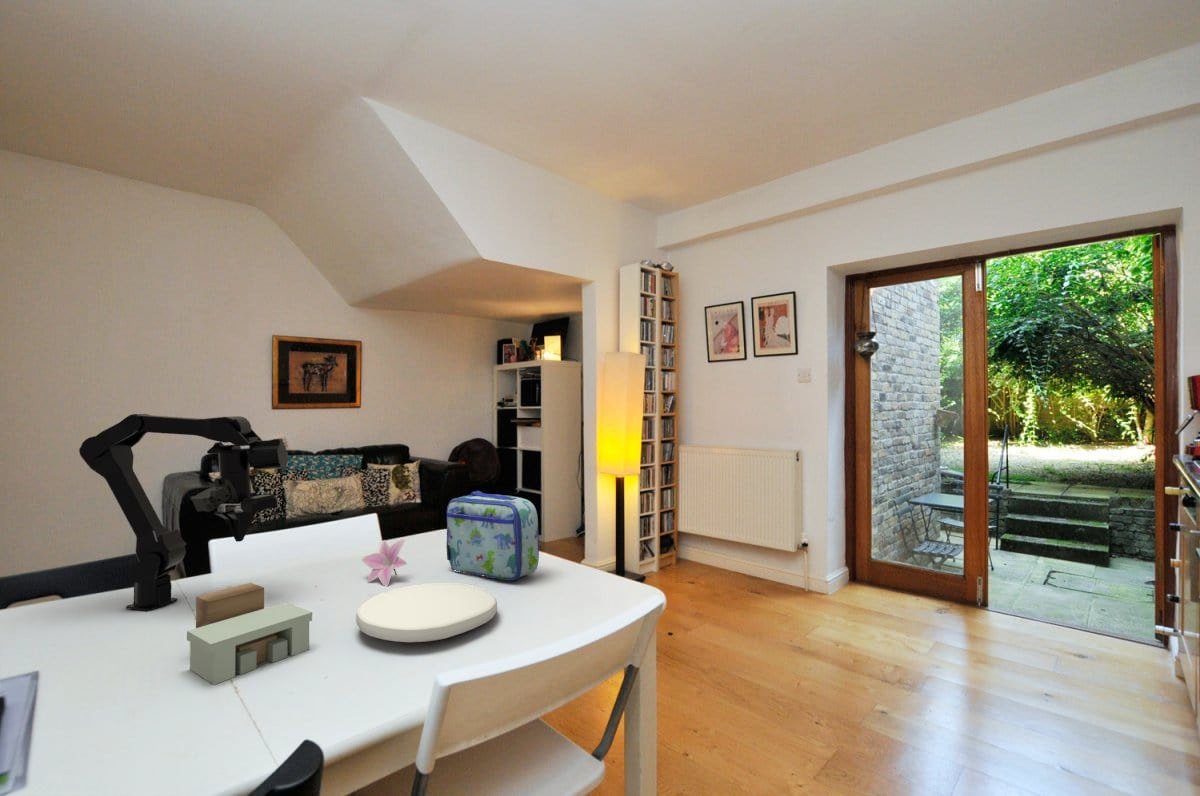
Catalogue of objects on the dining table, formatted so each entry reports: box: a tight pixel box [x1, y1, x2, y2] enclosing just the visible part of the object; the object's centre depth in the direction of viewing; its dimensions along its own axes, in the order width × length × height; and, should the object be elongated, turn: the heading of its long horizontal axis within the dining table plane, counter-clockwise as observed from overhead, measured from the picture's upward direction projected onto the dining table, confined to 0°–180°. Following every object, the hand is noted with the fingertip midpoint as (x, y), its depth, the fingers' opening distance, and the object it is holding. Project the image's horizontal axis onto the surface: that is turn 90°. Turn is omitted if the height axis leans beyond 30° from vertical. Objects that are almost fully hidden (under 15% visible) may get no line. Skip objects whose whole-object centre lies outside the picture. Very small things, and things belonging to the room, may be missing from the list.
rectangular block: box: [195, 582, 277, 664], centre depth 97 cm, size 13×9×10 cm
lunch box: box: [445, 490, 540, 582], centre depth 143 cm, size 26×11×21 cm, turn 58°
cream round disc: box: [355, 582, 498, 643], centre depth 111 cm, size 28×6×27 cm
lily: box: [361, 538, 408, 587], centre depth 138 cm, size 12×12×10 cm
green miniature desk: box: [186, 601, 313, 685], centre depth 95 cm, size 9×16×6 cm, turn 146°
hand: (239, 541), depth 123 cm, fingers closed
